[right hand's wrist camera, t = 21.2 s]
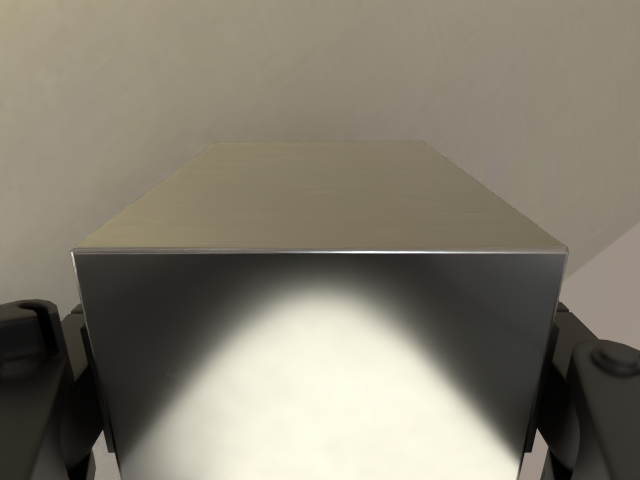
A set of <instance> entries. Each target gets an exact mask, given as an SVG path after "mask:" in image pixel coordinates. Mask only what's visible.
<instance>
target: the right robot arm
mask: <svg viewBox="0 0 640 480" xmlns="http://www.w3.org/2000/svg"><path fill="white" fill-rule="evenodd" d="M537 428H538V430H539V432H540V433H541V435H542V436H543V438H544V440H545V442H546V443H547V445H548V451H547V455H546V459H545V463H544V467H543V471H542V475H541V479H540V480H640V351H639V350H637V349H634V348H632V347H630V346H627V345H625V344H621V343H617V342H613V341H609V340H600V339H598V338H597V337H596V336H595V335H594V334H593V333H592V332H591V331H590V330H589V329H588V328H587V327H586V326H585V325H584V324H583V323H582V322H581V321H580V320H579V319H578V318H577V317H576V316H575V315H574V314H573V313H572V312H569V309H568V308H567V307H566V306H565V305H564V304H563V303H562V302H559V300H558V305H557V309H556V314H555V318H554V323H553V327H552V332H551V336H550V341H549V345H548V350H547V354H546V359H545V363H544V368H543V372H542V377H541V381H540V386H539V390H538V395H537V399H536V404H535V408H534V413H533V417H532V422H531V426H530V431H529V435H528V440H527V444H526V449H525V453H531V452H532V447H533V443H534V439H535V434H536V430H537ZM102 430H103V432H104V436H105V440H106V445H107V449H108V453H115V451H114V446H113V442H112V437H111V433H110V428H109V424H108V420H107V415H106V411H105V406H104V402H103V397H102V393H101V389H100V384H99V380H98V375H97V371H96V366H95V362H94V357H93V353H92V349H91V344H90V340H89V335H88V331H87V326H86V322H85V317H84V313H83V309H82V304H78V305H77V306H76V307H75V308H74V309H73V310H72V311H71V314H68V315H67V316H66V317H65V318H64V319H63V320H62V321H60V317H59V313H58V309H57V306H56V305H55V304H53V303H52V302H50V301H46V300H39V299H34V300H20V301H16V302H11V303H6V304H2V305H0V480H94V477H95V471H96V466H95V459H94V455H93V451H92V447H93V445H94V444H95V442H96V440H97V438H98V437H99V435H100V433H101V432H102Z"/></svg>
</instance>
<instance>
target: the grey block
mask: <svg viewBox="0 0 640 480" xmlns="http://www.w3.org/2000/svg"><path fill="white" fill-rule="evenodd" d="M70 255H71V260H72V264H73V269H74V273H75V278H76V282H77V286H78V291H79V295H80V300H81V304H82V309H83V313H84V317H85V322H86V326H87V331H88V335H89V340H90V344H91V349H92V353H93V357H94V362H95V366H96V371H97V375H98V380H99V384H100V389H101V393H102V397H103V402H104V406H105V411H106V415H107V420H108V424H109V428H110V433H111V437H112V442H113V446H114V451H115V455H116V460H117V464H118V468H119V473H120V477H121V480H519V476H520V471H521V467H522V462H523V458H524V453H525V449H526V444H527V440H528V435H529V431H530V426H531V422H532V417H533V413H534V408H535V404H536V399H537V395H538V390H539V386H540V381H541V377H542V372H543V368H544V363H545V359H546V354H547V350H548V345H549V341H550V336H551V332H552V327H553V323H554V318H555V314H556V309H557V305H558V300H559V296H560V291H561V286H562V282H563V277H564V273H565V268H566V264H567V259H568V255H569V250H568V247H566V246H565V245H564V244H562V243H561V242H559V241H558V240H557V239H555V238H554V237H553V236H551V235H550V234H549V233H547V232H546V231H545V230H543V229H542V228H540V227H539V226H538V225H536V224H535V223H534V222H532V221H531V220H530V219H528V218H527V217H526V216H524V215H523V214H522V213H520V212H519V211H517V210H516V209H515V208H513V207H512V206H511V205H509V204H508V203H507V202H505V201H504V200H503V199H501V198H500V197H498V196H497V195H496V194H494V193H493V192H492V191H490V190H489V189H488V188H486V187H485V186H484V185H482V184H481V183H480V182H478V181H477V180H475V179H474V178H473V177H471V176H470V175H469V174H467V173H466V172H465V171H463V170H462V169H461V168H459V167H458V166H456V165H455V164H454V163H452V162H451V161H450V160H448V159H447V158H446V157H444V156H443V155H442V154H440V153H439V152H438V151H436V150H435V149H433V148H432V147H431V146H429V145H428V144H427V143H425V142H423V141H392V142H214V143H213V144H212V145H210V146H209V147H208V148H206V149H205V150H204V151H202V152H201V153H200V154H198V155H197V156H195V157H194V158H193V159H191V160H190V161H189V162H187V163H186V164H185V165H183V166H182V167H181V168H179V169H178V170H177V171H175V172H174V173H172V174H171V175H170V176H168V177H167V178H166V179H164V180H163V181H162V182H160V183H159V184H158V185H156V186H155V187H153V188H152V189H151V190H149V191H148V192H147V193H145V194H144V195H143V196H141V197H140V198H139V199H137V200H136V201H135V202H133V203H132V204H130V205H129V206H128V207H126V208H125V209H124V210H122V211H121V212H120V213H118V214H117V215H116V216H114V217H113V218H111V219H110V220H109V221H107V222H106V223H105V224H103V225H102V226H101V227H99V228H98V229H97V230H95V231H94V232H93V233H91V234H90V235H88V236H87V237H86V238H84V239H83V240H82V241H80V242H79V243H78V244H76V245H75V246H74V247H72V248H71V251H70Z"/></svg>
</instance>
